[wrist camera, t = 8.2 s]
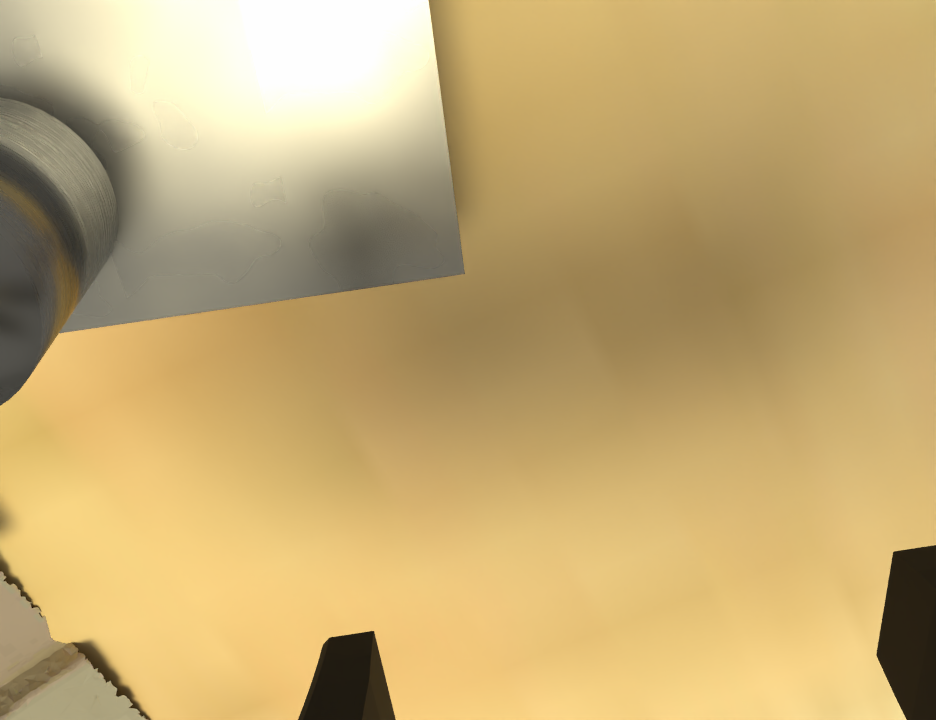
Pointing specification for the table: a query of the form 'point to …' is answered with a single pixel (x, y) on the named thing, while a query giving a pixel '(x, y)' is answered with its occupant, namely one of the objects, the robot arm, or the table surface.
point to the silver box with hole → (212, 159)
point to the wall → (48, 671)
